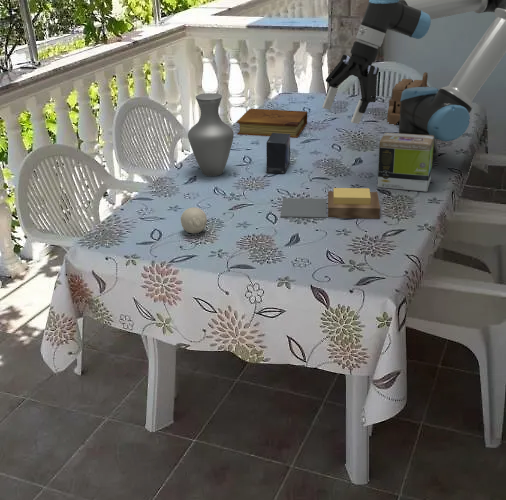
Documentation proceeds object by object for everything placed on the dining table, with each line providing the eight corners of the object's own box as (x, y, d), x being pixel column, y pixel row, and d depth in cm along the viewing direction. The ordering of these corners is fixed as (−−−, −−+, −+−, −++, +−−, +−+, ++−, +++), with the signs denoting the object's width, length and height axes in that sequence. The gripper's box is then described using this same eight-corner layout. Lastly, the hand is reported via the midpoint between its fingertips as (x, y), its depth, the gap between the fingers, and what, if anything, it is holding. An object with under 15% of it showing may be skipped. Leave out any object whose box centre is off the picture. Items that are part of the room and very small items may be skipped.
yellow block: (369, 195, 195) (369, 188, 194) (370, 204, 189) (370, 197, 188) (333, 194, 196) (333, 187, 195) (333, 204, 190) (333, 197, 189)
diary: (307, 125, 271) (307, 110, 268) (297, 139, 255) (297, 124, 252) (250, 121, 276) (250, 107, 274) (237, 135, 260) (237, 120, 257)
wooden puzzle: (398, 110, 285) (401, 64, 277) (433, 113, 279) (438, 67, 271) (382, 124, 268) (385, 75, 259) (420, 128, 262) (424, 78, 253)
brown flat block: (376, 201, 199) (377, 191, 197) (379, 218, 188) (380, 208, 187) (327, 200, 200) (328, 191, 199) (327, 217, 189) (328, 207, 188)
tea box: (430, 181, 212) (435, 134, 205) (427, 193, 204) (431, 144, 197) (381, 176, 217) (384, 130, 210) (376, 187, 208) (379, 140, 202)
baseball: (187, 240, 179) (185, 216, 176) (178, 229, 185) (176, 206, 182) (211, 235, 181) (210, 211, 178) (202, 224, 187) (200, 202, 184)
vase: (218, 183, 214) (214, 104, 203) (181, 176, 221) (175, 98, 210) (243, 169, 225) (241, 93, 214) (207, 162, 232) (203, 88, 221)
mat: (326, 200, 200) (326, 198, 200) (326, 218, 189) (326, 217, 189) (283, 199, 202) (283, 198, 201) (280, 217, 190) (280, 216, 190)
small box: (285, 174, 220) (285, 142, 216) (265, 173, 222) (265, 142, 217) (291, 163, 230) (291, 132, 225) (271, 162, 231) (271, 132, 226)
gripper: (331, 31, 202) (305, 100, 209) (387, 51, 184) (358, 127, 191) (348, 37, 207) (323, 105, 214) (406, 58, 189) (376, 131, 196)
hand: (340, 115), depth 202 cm, fingers open, 13 cm apart
